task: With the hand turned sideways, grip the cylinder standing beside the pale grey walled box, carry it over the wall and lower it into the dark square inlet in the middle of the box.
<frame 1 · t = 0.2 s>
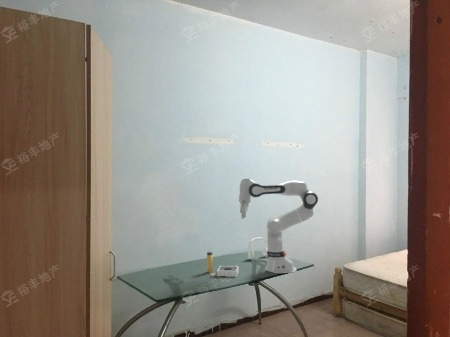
hand: (243, 218, 257), 39 cm above the table, tool pointing down, fingers open, 8 cm apart
walled box: (228, 274, 244), on the table
cylinder: (210, 272, 250), on the table
headset: (257, 258, 289), on the table
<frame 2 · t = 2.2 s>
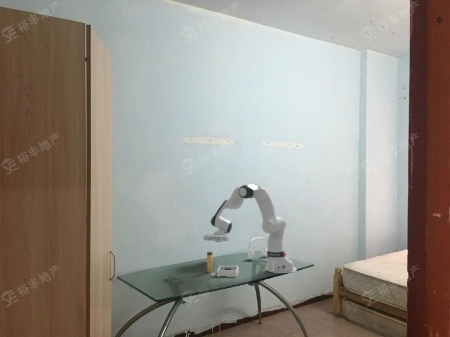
hand: (213, 239, 262), 22 cm above the table, tool horizontal, fingers open, 8 cm apart
nothing on the table moved.
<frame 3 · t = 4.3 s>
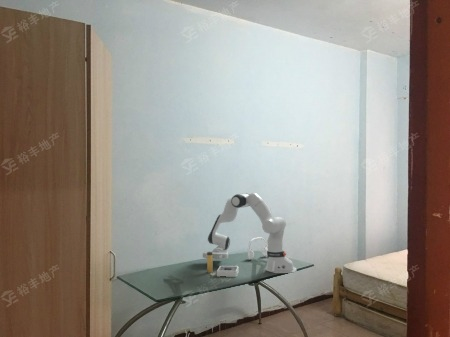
hand: (212, 257, 258), 9 cm above the table, tool horizontal, fingers open, 8 cm apart
nothing on the table moved.
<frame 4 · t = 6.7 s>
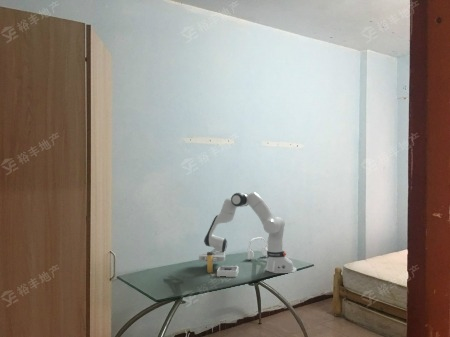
hand: (209, 260, 249), 9 cm above the table, tool horizontal, fingers closed on cylinder, 4 cm apart
cylinder: (210, 272, 250), on the table, touching gripper
everything else where it was.
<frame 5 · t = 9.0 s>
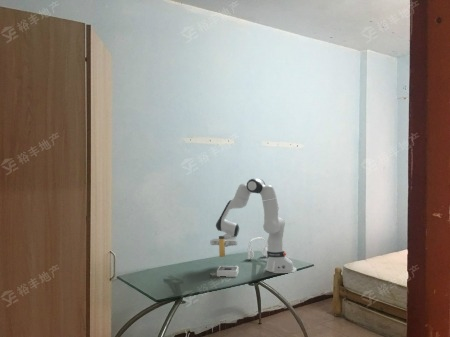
hand: (221, 244, 246), 21 cm above the table, tool horizontal, fingers closed on cylinder, 4 cm apart
cylinder: (222, 256, 246), point 12 cm above the table, touching gripper
everything else where it was.
when the fingers open (11 cm above the table, at t = 11.6 s): cylinder stays where it is, resting on walled box.
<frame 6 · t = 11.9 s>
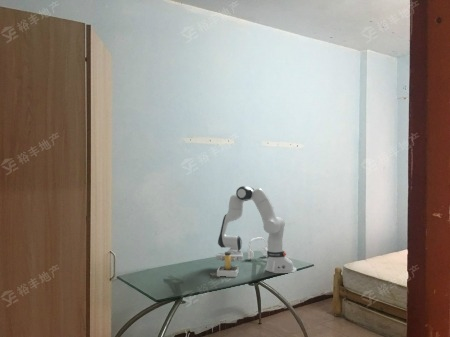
hand: (227, 259, 244), 11 cm above the table, tool horizontal, fingers open, 7 cm apart
cylinder: (228, 272, 244), point 1 cm above the table, touching walled box
everything else where it was.
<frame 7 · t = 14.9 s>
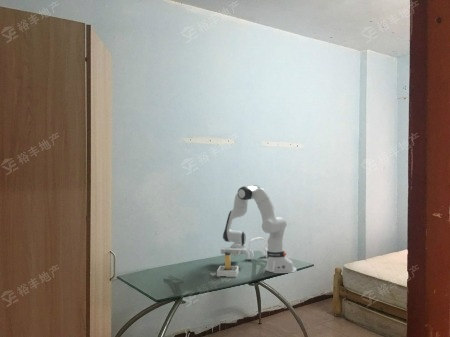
hand: (231, 253, 256), 12 cm above the table, tool horizontal, fingers open, 8 cm apart
nothing on the table moved.
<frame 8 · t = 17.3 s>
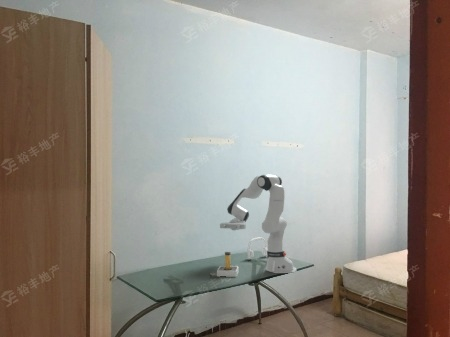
hand: (230, 227, 257), 32 cm above the table, tool horizontal, fingers open, 8 cm apart
nothing on the table moved.
at the end: cylinder 0.0 cm off-centre on the walled box, point 1.0 cm above the walled box's base; cylinder tilted 0°; the gripper is holding nothing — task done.
